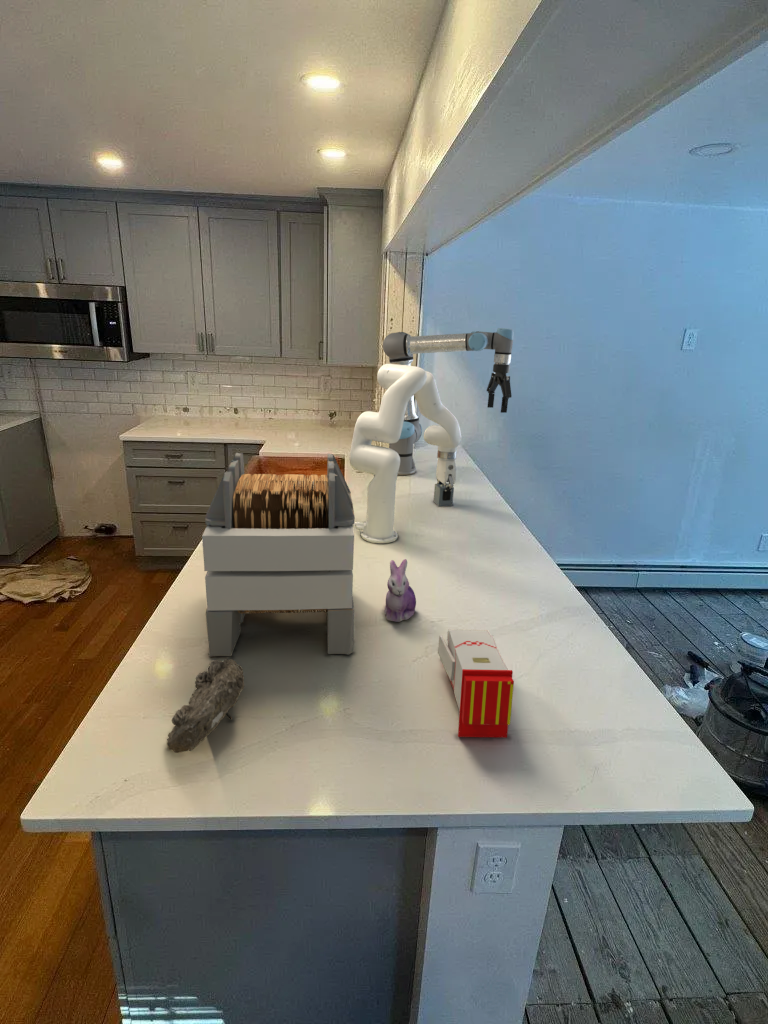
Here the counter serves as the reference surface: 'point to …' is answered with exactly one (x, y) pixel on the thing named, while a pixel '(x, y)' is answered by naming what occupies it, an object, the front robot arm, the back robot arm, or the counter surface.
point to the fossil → (206, 705)
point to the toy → (478, 682)
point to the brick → (439, 495)
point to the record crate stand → (279, 552)
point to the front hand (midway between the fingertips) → (443, 497)
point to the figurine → (399, 594)
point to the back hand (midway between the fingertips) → (496, 410)
